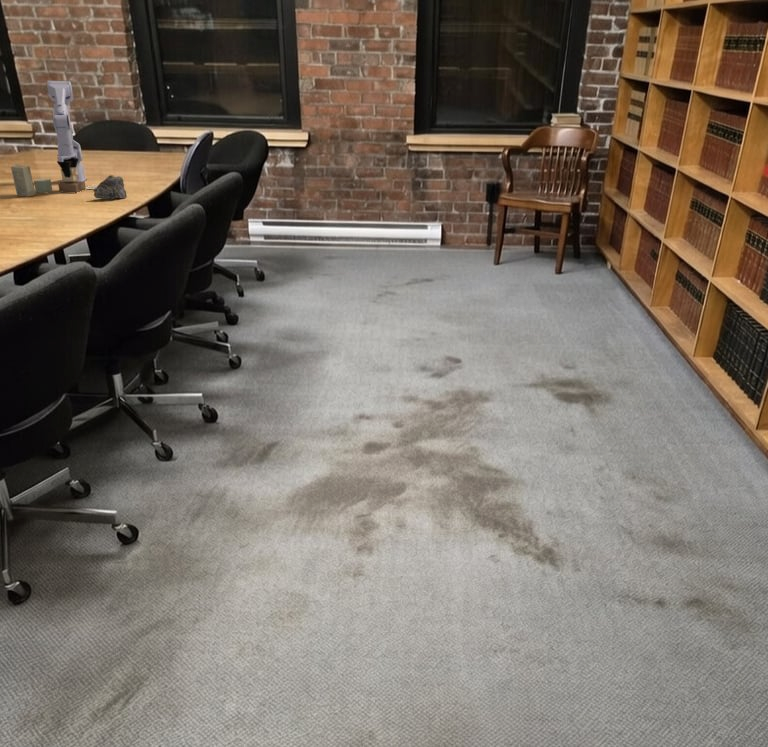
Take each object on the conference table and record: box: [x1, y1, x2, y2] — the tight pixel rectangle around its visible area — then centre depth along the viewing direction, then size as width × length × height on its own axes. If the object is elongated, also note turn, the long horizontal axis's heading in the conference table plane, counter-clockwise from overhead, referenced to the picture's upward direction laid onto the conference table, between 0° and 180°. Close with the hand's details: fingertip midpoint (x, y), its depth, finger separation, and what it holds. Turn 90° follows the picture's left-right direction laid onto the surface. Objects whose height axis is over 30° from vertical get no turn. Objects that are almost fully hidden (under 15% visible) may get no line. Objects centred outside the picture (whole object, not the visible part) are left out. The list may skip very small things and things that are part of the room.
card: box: [85, 184, 97, 190], centre depth 304 cm, size 10×7×1 cm
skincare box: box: [10, 164, 36, 197], centre depth 281 cm, size 6×4×12 cm
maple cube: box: [60, 167, 79, 182], centre depth 293 cm, size 5×5×5 cm
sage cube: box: [33, 178, 53, 193], centre depth 291 cm, size 5×5×5 cm
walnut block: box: [57, 180, 87, 194], centre depth 295 cm, size 8×8×4 cm
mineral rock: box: [92, 174, 127, 200], centre depth 283 cm, size 13×11×10 cm
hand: (70, 176), depth 293 cm, fingers closed on maple cube, 5 cm apart
